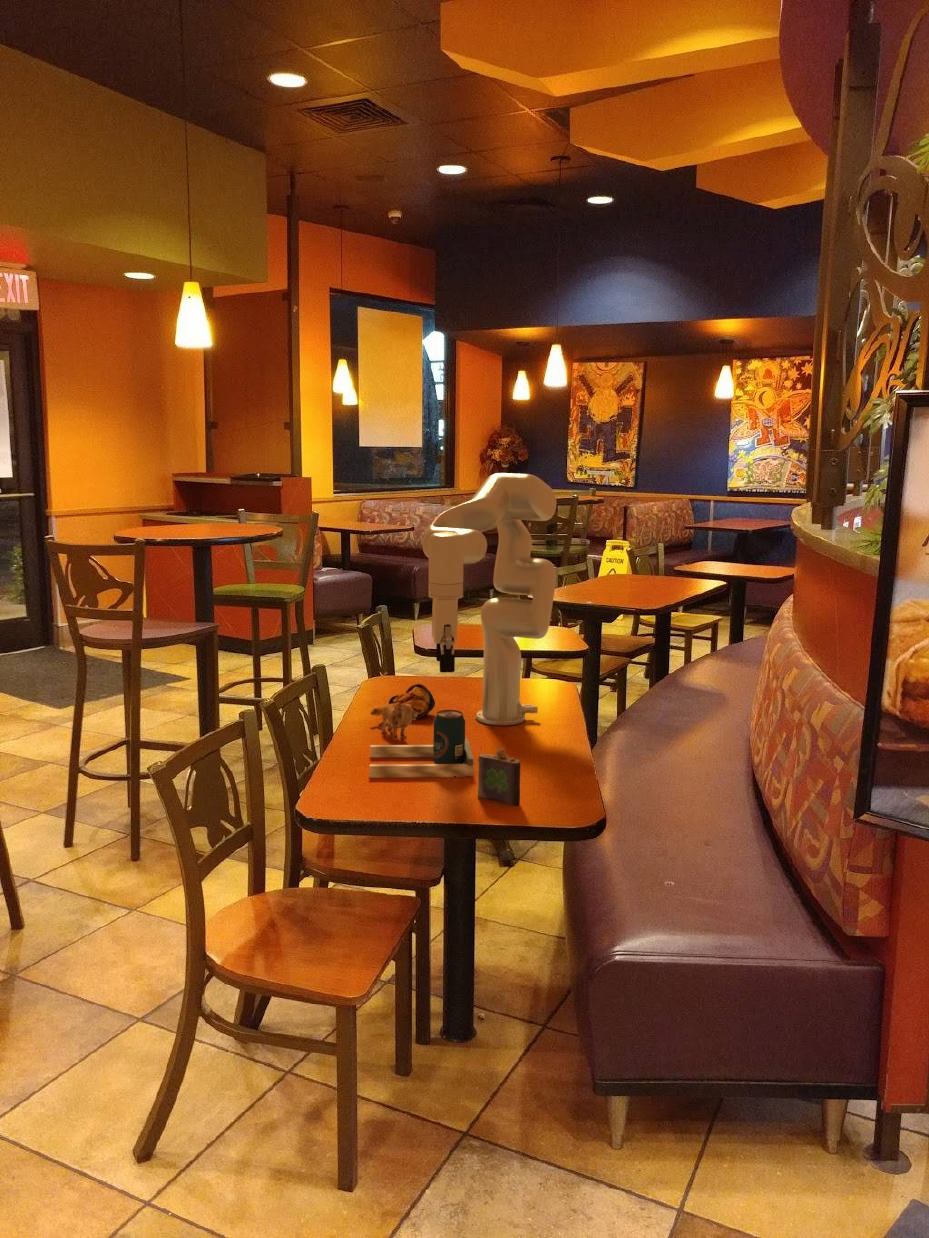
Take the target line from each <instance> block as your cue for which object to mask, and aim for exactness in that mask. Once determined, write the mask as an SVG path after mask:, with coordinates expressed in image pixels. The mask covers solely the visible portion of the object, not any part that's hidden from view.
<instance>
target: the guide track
mask: <svg viewBox="0 0 929 1238" xmlns="http://www.w3.org/2000/svg"><path fill="white" fill-rule="evenodd" d="M369 747H370V749H369V750H370V752H369V756H370V758H433V744H370V745H369ZM368 770H369V774H368V775H369V776H368V777H369V778H370V779H371V778H377V779H378V778H379V779H381V778H467V777H466V776H473V777H474V756H473V752H472V749H471V745H470V742H469V738H467V737H465V761H464V763H463V764H435V763H414V764H413V763H410V764H409V763H404V764H403V763H402V764H401V763H399V764H398V763H397V764H395V763H389V764H387V763H386V764H385V763H382V764H381V763H378V764H374V763H373V764H372V763H371V764H369V769H368ZM454 776H456V777H454Z"/></svg>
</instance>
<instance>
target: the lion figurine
mask: <svg viewBox="0 0 929 1238" xmlns="http://www.w3.org/2000/svg"><path fill="white" fill-rule="evenodd" d="M384 706H385V708H384V710H383V715H382V722H380V723H378V724H377V726H378V727H381V726H382V729H381V734H386V733H387V731H386V727H387V729H389V730H392V741H398V739H399V738H398V734H397V733H398V729H400V734H399V735H400V738H401V739H406V738H407V735H405V731H406V728H408V726H409V725H410V724H412V722H413V721H415V720H416V719H417V718H416V717H417V714H418V713H417V712H415V711H414V710H413V709H412V708H411V705H410V704H404V705H401V706H399V707H396V708H395V707H394V706H392V705H389V704H387V706H386V705H384ZM386 723H387V726H386Z"/></svg>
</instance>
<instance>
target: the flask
mask: <svg viewBox="0 0 929 1238" xmlns="http://www.w3.org/2000/svg"><path fill="white" fill-rule="evenodd" d="M505 750H506V749H505V748H499V749H498V750H495V753H497V754H496V755H494V754H490V753H481V754H479V755H478V775H477V776H478V777H477V798H478V799H480V800H483V801H485V800H486V801H489V802H492V801H493V802H492V803H500V804H502V805H503V804H504V805H506V806H507V805H508V806H511V807H518V806H520V803H521V802H520V800H521V787H520V786H521V761H520V760H519V759H515V758H514V757H511V756H510V757H509V756H508V755H507V753H504V751H505Z"/></svg>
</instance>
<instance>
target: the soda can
mask: <svg viewBox="0 0 929 1238" xmlns="http://www.w3.org/2000/svg"><path fill="white" fill-rule="evenodd" d="M463 714H464V713H463V712H462V711H460V710H457V709H442V710H439V711H437V712H436V716H435V718H434V720H433V743H432V745H433V757H432V761H433V764H464V761H465V738H466V719H465V717H464V715H463Z"/></svg>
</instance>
